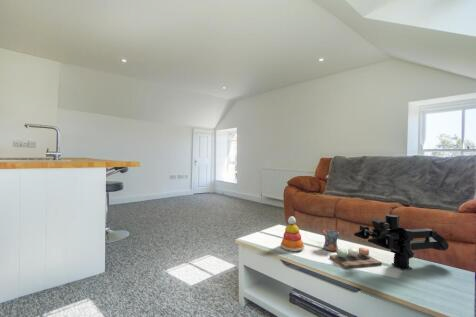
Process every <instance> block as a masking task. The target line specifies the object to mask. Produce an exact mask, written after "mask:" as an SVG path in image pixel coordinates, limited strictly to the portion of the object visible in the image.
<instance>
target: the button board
mask: <svg viewBox="0 0 476 317" xmlns="http://www.w3.org/2000/svg"><path fill="white" fill-rule="evenodd" d="M329 259H330V260H332V261H333V262H335V263H336V264H338V265H339V266H341V267H343V269H345V270H347V269H356V268H368V267H375V266H376V267H377V266H382V265H383V264H382V261H380V260H378V259H376V258H375V257H373V256H370V254H369V255H361V254H359V252H358V256H351V255H349V254H348V253H347V257H340V256H338V255H337V254H331V255H329Z"/></svg>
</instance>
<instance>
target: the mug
mask: <svg viewBox="0 0 476 317" xmlns="http://www.w3.org/2000/svg"><path fill="white" fill-rule="evenodd" d="M322 232H323V235H324V245H323V249H324V250H327V251H331V252H337V250H338V249H339V248H338V243H337V242H338V237H339V235H340V232H338V231H337V230H333V229H332V230H331V229H324V230H323V231H322Z"/></svg>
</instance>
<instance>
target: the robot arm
mask: <svg viewBox="0 0 476 317" xmlns="http://www.w3.org/2000/svg"><path fill="white" fill-rule="evenodd" d="M371 224H372V226H373V228H372V229H371V230H372V231H371V230H370V228H369V227H368V226H366V225H359V230H358V231H356V232H354V233H353V236H354V237H358V238H360V239H362V240H367V242H368V243H371V244H374V245H377V246H379V247H381V248H384V249H387V250H390V252H391V253H393V262H392V263H391V266H394V267H396V268H398V269H399V270H402V271H403V270H412V269H413V267H412V266H410V259H413V258H414V255H415V253H414V252H413V251H420V250H430V249H432V250H437V251H442V252H445V251H446V250H447V249H449V246H450V245H449V242H448V241H447V240H446V239H445V238H444V237H443V236H441V235H440V234H438V232H437V231H436V230H434V229H431V228H414V229H408V228H407V229H406V228H404V227H401V226H400V216H399V215H396V214H395V215H393V214H387V213H385V215H384V220H383V219H380V218H376V219H373V220H371ZM370 237H371V238H370ZM415 239H417V240H415Z"/></svg>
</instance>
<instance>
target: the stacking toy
mask: <svg viewBox="0 0 476 317" xmlns="http://www.w3.org/2000/svg"><path fill="white" fill-rule="evenodd" d="M287 223H288V224H287V225H286V226H285V229H284V233H283V236H282V237H283V238H282V240H281V243H280V247H281V248H282V249H284V250H286V251H289V252H299V251H302V250H304V249H305V245H304V243H303V240H302V234H301V233H300V228H299V227H298V226H297V224H296V223H297V219H296V218H295V216H293V215H292V216H289V218H288V219H287Z"/></svg>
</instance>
